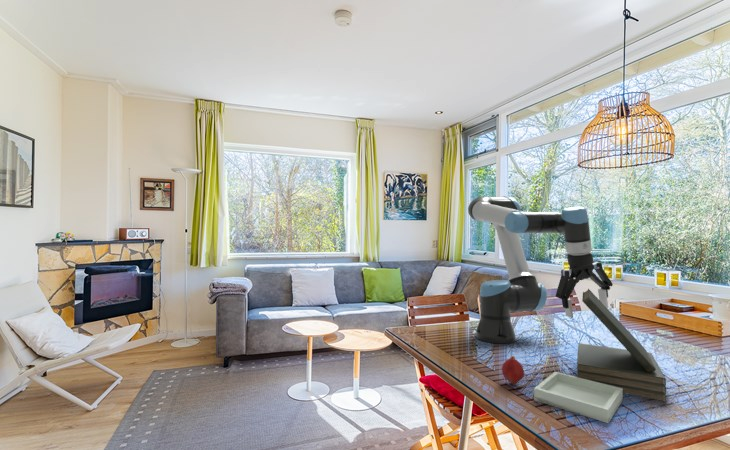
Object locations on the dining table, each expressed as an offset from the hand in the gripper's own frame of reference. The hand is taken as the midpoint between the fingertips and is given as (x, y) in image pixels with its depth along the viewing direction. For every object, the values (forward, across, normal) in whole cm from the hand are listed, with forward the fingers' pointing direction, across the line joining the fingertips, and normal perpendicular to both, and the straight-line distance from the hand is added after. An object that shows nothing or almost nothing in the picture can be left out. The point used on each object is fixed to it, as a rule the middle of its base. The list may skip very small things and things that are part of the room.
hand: (586, 311), depth 125 cm
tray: (+7, -29, -30) cm, 42 cm away
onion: (+6, -40, -18) cm, 45 cm away
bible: (+13, -8, -19) cm, 24 cm away
